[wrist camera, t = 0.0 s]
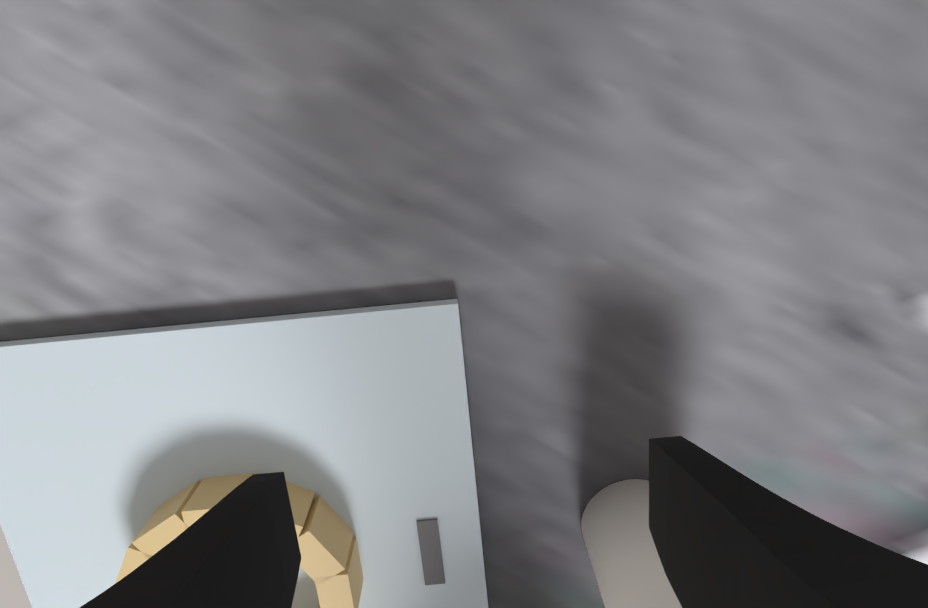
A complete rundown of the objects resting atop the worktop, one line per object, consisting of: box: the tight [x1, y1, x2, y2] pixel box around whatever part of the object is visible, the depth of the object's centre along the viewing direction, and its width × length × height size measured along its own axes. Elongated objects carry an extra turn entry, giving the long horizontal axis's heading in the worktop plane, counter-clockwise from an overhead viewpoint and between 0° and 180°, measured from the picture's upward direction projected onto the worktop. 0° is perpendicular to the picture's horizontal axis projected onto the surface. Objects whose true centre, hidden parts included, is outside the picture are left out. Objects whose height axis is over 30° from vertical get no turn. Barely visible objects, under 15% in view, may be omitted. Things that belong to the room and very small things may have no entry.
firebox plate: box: [0, 299, 488, 608], centre depth 23 cm, size 20×18×3 cm
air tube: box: [581, 479, 682, 608], centre depth 20 cm, size 4×4×8 cm
